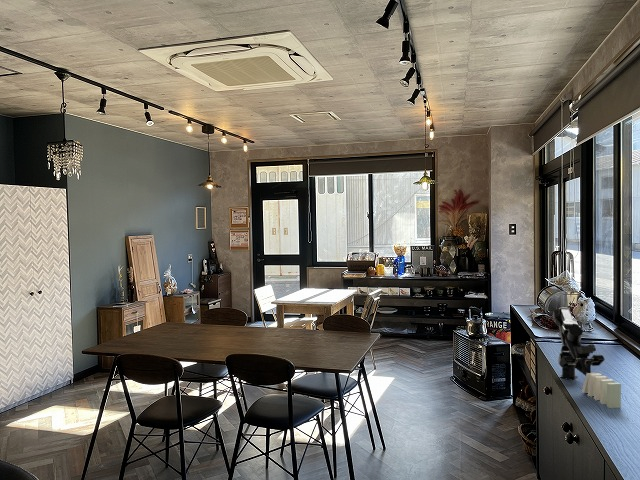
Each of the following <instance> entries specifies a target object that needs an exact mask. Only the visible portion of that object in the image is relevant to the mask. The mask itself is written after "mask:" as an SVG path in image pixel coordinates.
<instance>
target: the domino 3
mask: <svg viewBox="0 0 640 480" xmlns="http://www.w3.org/2000/svg"><path fill="white" fill-rule="evenodd" d="M605 379H608V376H606V375H602V376H595V377H594V397H593V400H594V399H595V400H594V401H597V400H600V380H605Z"/></svg>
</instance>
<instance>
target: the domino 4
mask: <svg viewBox="0 0 640 480" xmlns="http://www.w3.org/2000/svg"><path fill="white" fill-rule="evenodd" d="M607 383H615V380H614V379H612V378H607V379H605V380H600V401H599V403H600V405H607Z"/></svg>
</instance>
